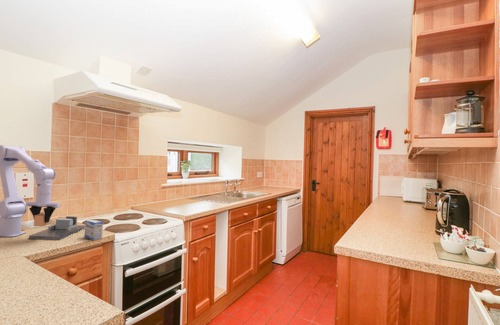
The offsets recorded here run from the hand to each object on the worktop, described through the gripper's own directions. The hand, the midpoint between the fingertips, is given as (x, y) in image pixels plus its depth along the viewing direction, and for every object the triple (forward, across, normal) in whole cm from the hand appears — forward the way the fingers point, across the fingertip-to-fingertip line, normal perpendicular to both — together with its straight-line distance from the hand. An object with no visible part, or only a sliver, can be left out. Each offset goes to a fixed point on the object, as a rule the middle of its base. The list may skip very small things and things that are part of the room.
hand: (41, 222), depth 131 cm
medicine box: (+9, +21, +6) cm, 24 cm away
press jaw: (+7, +1, +19) cm, 20 cm away
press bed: (+8, +1, +13) cm, 15 cm away
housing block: (+2, 0, 0) cm, 2 cm away
